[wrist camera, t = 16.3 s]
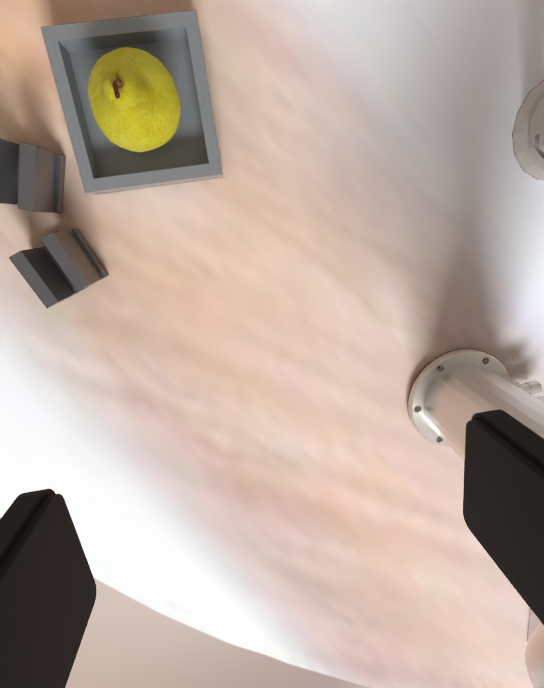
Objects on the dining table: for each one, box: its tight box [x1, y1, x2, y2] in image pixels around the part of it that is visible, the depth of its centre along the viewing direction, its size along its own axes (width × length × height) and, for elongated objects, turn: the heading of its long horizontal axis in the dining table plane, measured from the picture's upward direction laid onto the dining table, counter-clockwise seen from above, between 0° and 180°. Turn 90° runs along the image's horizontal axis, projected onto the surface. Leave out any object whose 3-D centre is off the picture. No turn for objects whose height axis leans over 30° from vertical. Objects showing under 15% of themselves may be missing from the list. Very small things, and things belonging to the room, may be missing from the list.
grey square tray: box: [41, 10, 223, 195], centre depth 34 cm, size 12×12×3 cm
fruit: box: [87, 47, 181, 152], centre depth 29 cm, size 7×7×12 cm
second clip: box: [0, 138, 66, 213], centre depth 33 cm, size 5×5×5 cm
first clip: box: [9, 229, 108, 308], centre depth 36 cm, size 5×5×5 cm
